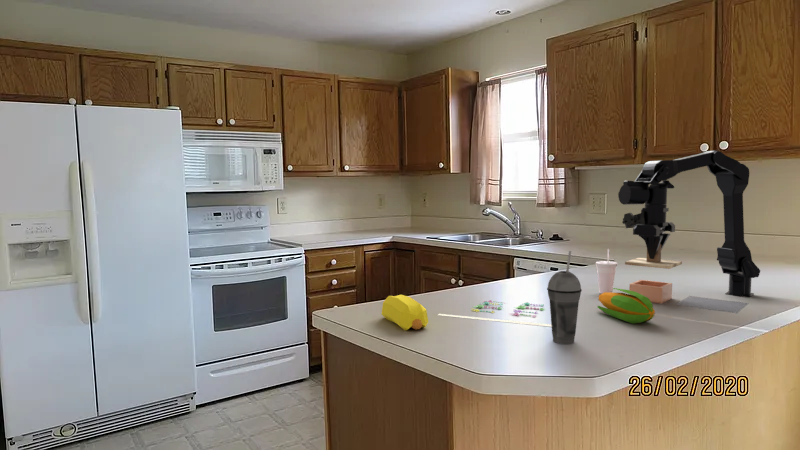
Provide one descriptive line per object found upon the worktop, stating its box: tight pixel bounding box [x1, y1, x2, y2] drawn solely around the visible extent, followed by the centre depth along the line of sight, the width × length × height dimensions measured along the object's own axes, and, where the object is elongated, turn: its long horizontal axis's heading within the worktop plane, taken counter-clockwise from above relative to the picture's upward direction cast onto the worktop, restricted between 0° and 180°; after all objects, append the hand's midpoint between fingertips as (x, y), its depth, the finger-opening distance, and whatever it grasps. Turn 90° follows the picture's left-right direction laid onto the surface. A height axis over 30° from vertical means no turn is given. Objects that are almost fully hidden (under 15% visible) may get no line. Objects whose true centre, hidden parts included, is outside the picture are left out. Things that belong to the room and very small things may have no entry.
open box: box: [628, 279, 673, 305], centre depth 157 cm, size 9×9×5 cm
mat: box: [674, 295, 749, 314], centre depth 150 cm, size 15×15×1 cm
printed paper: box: [437, 299, 552, 328], centre depth 150 cm, size 30×30×2 cm
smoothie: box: [595, 248, 618, 295], centre depth 168 cm, size 6×6×14 cm
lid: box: [624, 244, 683, 270], centre depth 156 cm, size 12×12×6 cm
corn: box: [596, 287, 656, 324], centre depth 138 cm, size 7×8×20 cm
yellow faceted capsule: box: [381, 294, 429, 331], centre depth 135 cm, size 18×7×8 cm
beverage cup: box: [546, 250, 583, 345], centre depth 118 cm, size 7×7×20 cm
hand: (653, 258), depth 156 cm, fingers closed on lid, 3 cm apart
